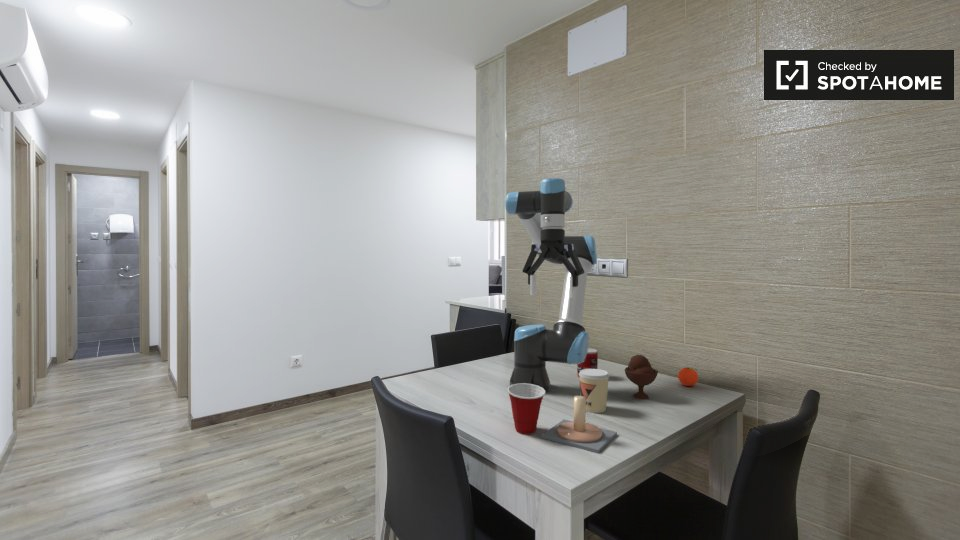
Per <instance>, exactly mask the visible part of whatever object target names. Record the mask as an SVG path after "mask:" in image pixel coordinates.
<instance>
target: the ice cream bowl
mask: <svg viewBox="0 0 960 540" xmlns="http://www.w3.org/2000/svg"><path fill="white" fill-rule="evenodd" d="M627 365H628V366H627V367H625V368H624V374H625V377H626V378H627V379H628V380H629V381H630V382H632V383H633V384H634V385H637V387H638V388H637V389H638V390H637V391H636V392H635V393H633V394H632V397H633V398H634V399H636V400H649V399H650V396H649V395H648V394H647V393H645V392H644V391H645V389H644V388H645V386H649V385H651V384H652V383H654V381H655V380H656V379H657V376H658V373H659V370H658V369H655V368H654V367H652V364H651V363H650V362H649V359H648V358H647V357H646V356H644V355H643V354H635V355H633V356H632V357H631V358H630V359H629V362H628V364H627Z"/></svg>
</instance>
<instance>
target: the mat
mask: <svg viewBox="0 0 960 540" xmlns="http://www.w3.org/2000/svg"><path fill="white" fill-rule="evenodd" d="M566 422H574V420H573V421H572V420H568V419H562V420H561V421H559V422H558V423H557V424H555V425H554V426H552V427H551V428H549V429H548V430H546V431H545V432H544V433H542V434H541V438H542V439H545V440H548V441H552V442H556V443H558V444H559V443H560V444H562V445H566V446H569V447H575V448H578V449H581V450H585V451H589V452H593V453H595V454H599V453H600V452H601V451H602V450H603V449H604V448H605V447H606V446H607V445H608V444H609V443H610V442H611V441H612V440H614V438H615V437H616V436H617V435H618V431H615V430H612V429H611V430H610V429H607V428H603V427H599V428H600V429H601V430H602V438H601V439H600V440H598V441H595V442H590V443H579V442H573V441H569V440H566V439H564V438H562V437H560V436H559V435H558V433H557V428H558V426H559V425H560V424H563V423H566Z"/></svg>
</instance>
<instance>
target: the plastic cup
mask: <svg viewBox="0 0 960 540" xmlns="http://www.w3.org/2000/svg"><path fill="white" fill-rule="evenodd" d="M506 391H507V393H508V396H509V400H510V405H511V406H510V407H511V410H512V418H513V422H514V429H515V432H517V433H519V434H522V435H530V434H531V435H532V434H534V433H535V432H536V431H537V427H538V420H539V416H540V412H541V411H540V410H541V405H542V402H543V400H544V396H545V395H546V392H545V390H544V389H543V388H542V387H540V386H537V385H533V384H527V383H519V384H513V385H511V386H510V385H509V386H507V390H506Z"/></svg>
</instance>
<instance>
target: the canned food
mask: <svg viewBox="0 0 960 540" xmlns="http://www.w3.org/2000/svg"><path fill="white" fill-rule="evenodd" d="M598 354H599V352H598V350H597V349H595V348H589V347H588V350H587V354H586V357H585V359H584V361H583V362H582V363H581V364H576V365H577V366H576V369H577V371H576V372H577V373H576V375H577V377H578V378H579V379H580V376H579V373H580V371H581V370H583V369H598V367H599V366H598V363H599V362H598V359H599V356H598Z"/></svg>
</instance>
